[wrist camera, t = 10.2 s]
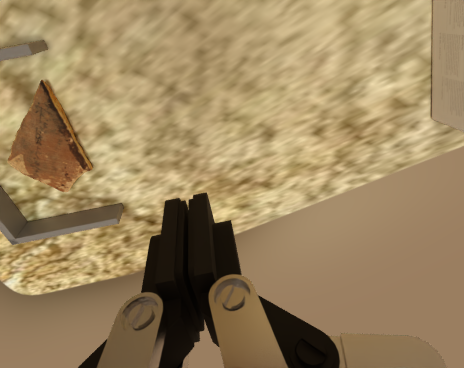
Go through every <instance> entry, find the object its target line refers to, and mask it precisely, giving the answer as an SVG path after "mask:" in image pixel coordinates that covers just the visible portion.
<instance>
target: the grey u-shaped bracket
mask: <svg viewBox="0 0 464 368" xmlns="http://www.w3.org/2000/svg"><path fill="white" fill-rule="evenodd" d="M45 50H48V48H47V46H46V44H45V42H44V40H41V41H35V42H30V43H25V44H19V45H14V46H9V47H4V48H0V61H2V60H8V59H13V58H18V57H23V56H29V55H33V54H36V53H39V52H42V51H45ZM123 209H124V208H123V205H122V203H120V204H115V205H110V206H105V207H100V208H95V209H90V210H85V211H80V212H75V213H70V214H65V215H60V216H55V217H50V218H45V219H40V220H35V221H30V222H27V221H26V219H25V218H24V217H23V215H22V214H21V213H20V211H19V210H18V209H17V207H16V206H15V205H14V203H13V202H12V201H11V199H10V198H9V197H8V195H7V194H6V193H5V191H4V190H3V189H2V187H1V186H0V231H1V232H2V233H3V234H4V235H5V237H6V238H7V239H8V240H9V241H10V243H11V244H12V245H15V244H19V243H24V242H29V241H34V240H39V239H44V238H49V237H54V236H59V235H64V234H69V233H74V232H79V231H84V230H89V229H94V228H99V227H104V226H109V225H114V224H119V221H120V218H121V215H122V212H123Z"/></svg>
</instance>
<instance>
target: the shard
mask: <svg viewBox="0 0 464 368" xmlns="http://www.w3.org/2000/svg"><path fill="white" fill-rule="evenodd" d="M7 161H8V164H9V165H11V166H12V167H13V168H15V169H17V170H18V171H20V172H21V173H23V174H24V175H27V176H29V177H31V178H33V179H35V180H39V181H40V182H43V183H45V184H47V185H50V186H52V187H54V188H56V189H58V190H60V191H62V192H68V191H69V190H70V188H71V186H72V185H73V184H74V182H75V181H76V180H77V178H79V177H80V176H81V175H82V174H83V173H85V172H87V171H90V170H92V168H93V167H92V165H91V163H90V162H89V160H88V159H87V158H86V156H85V154H84V153H83V150H82V148H81V146H80V145H79V144H78V142H77V140H76V138H75V136H74V133H73V130H72V128H71V126H70V124H69V122H68V120H67V117H66V115H65V113H64V112H63V109H62V107H61V105H60V103H59V101H58V100H57V98H56V97H55V96H54V94H53V92H52V90H51V89H50V88H49V86H48V85H47V84H46V83H45V82H44V81H43V80H41V81H40V84H39V87H38V89H37V91H36V93H35V95H34V99H33V103H32V105H31V107H30V109H29V111H28V113H27V115H26V116H25V118H24V119H23V121H22V124H21V126H20V129H19V130H18V131H17V134H16V138H15V140H14V141H13V145H12V147H11V155H10V156H9V158H8V160H7Z"/></svg>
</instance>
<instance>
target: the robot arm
mask: <svg viewBox="0 0 464 368" xmlns="http://www.w3.org/2000/svg"><path fill="white" fill-rule="evenodd" d="M204 320H205V322H206V325H207V328H208V330H209V333H210V336H211V338H212V341H213V342H214V343H215V344H216V345H217V346H218V347H220V351H221V355H222V359H223V364H224V368H447V367H446V365H445V363H444V360H443V359H442V357H441V356H440V354H439V353H438V351H437V350H436V349H435V348H434V347H432V346H431V345H430V344H429V343H428V342H426V341H423V340H422V339H420V338H417V337H413V336H406V335H378V334H348V333H341V336H327V335H326V334H325V333H324V332H322V331H320V330H319V329H317V328H315V327H313V326H312V325H310V324H308V323H306V322H305V321H303V320H301V319H299V318H297V317H296V316H294V315H292V314H290V313H288V312H287V311H285V310H283V309H282V308H279V307H278V306H276V305H274V304H273V303H271V302H269V301H267V300H265V299H264V298H262V297H260V296H258V295H257V292H256V290H255V287H254V286H253V284H252V282H251V281H250V280H249V279H248V278H246V277H244V276H242V275H241V269H240V264H239V258H238V253H237V248H236V243H235V238H234V233H233V228H232V223H231V220H230V221H225V222H220V223H215V222H214V218H213V215H212V211H211V207H210V203H209V199H208V195H207V193H201V194H196V195H193V199H189V210H188V207H187V204H186V201H181V200H180V198H176V199H171V200H167V201H165V207H164V214H163V222H162V230H161V235H156V236H152V237H151V239H150V244H149V250H148V256H147V261H146V267H145V273H144V279H143V285H142V291H141V293H140V294H137V295H135V296H134V297H132V298H130V299H129V300H128V301H126V302H125V303H124V305H123V306H122V307H121V308H120V310H119V312H118V314H117V316H116V319H115V322H114V324H113V327H112V329H111V332H110V335H109V337H108V339H107V340H106V341H105V342H104V343H103V344H102V345H101V346H100V347H98V348H97V349H96V350H95V351H94V352H93V353H92V354H91V355H90V356H89V357H88V358H87V359H86V360H85V361H84V362H83V363H82V364H81V365H80V366H79V367H78V368H188V361H189V358H188V354H189V352H190V351H191V350H192V349H193V347H194V342H199V341H200V335H199V332H200V331H204Z"/></svg>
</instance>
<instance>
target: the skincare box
mask: <svg viewBox="0 0 464 368" xmlns="http://www.w3.org/2000/svg"><path fill="white" fill-rule="evenodd" d="M432 119H433V120H435V121H438V122H441V123H443V124H446V125H448V126H451V127H453V128H455V129H458V130H460V131H462V132H464V0H433V29H432Z"/></svg>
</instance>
